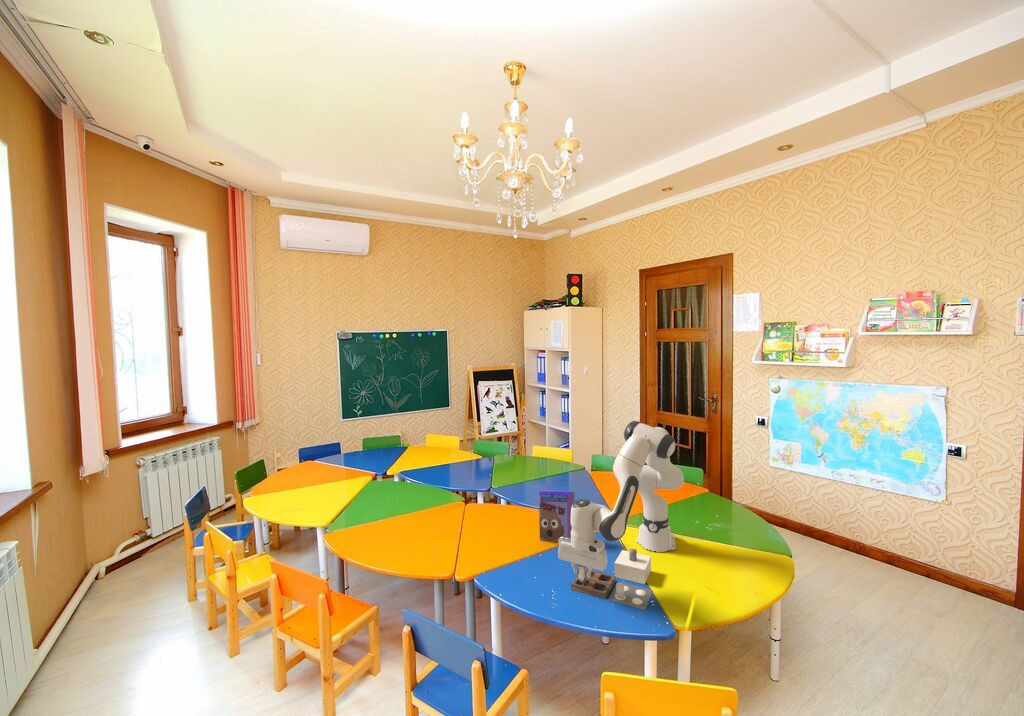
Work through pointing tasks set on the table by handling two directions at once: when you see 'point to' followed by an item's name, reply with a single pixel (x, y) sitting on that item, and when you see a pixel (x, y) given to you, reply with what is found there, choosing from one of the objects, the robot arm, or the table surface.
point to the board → (631, 595)
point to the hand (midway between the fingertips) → (582, 574)
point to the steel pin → (582, 575)
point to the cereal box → (555, 514)
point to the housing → (633, 566)
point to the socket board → (595, 584)
